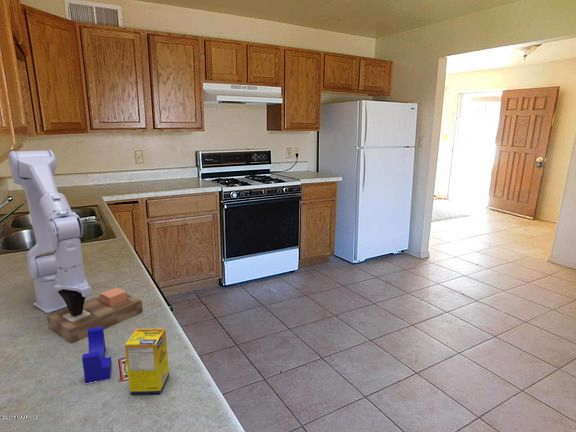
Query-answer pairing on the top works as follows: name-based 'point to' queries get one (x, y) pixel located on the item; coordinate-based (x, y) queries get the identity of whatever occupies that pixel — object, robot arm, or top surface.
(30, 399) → the top surface
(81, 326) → the brown block tray
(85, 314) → the white block
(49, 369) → the top surface
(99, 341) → the blue notched block
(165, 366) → the supplement box
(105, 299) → the terracotta button
